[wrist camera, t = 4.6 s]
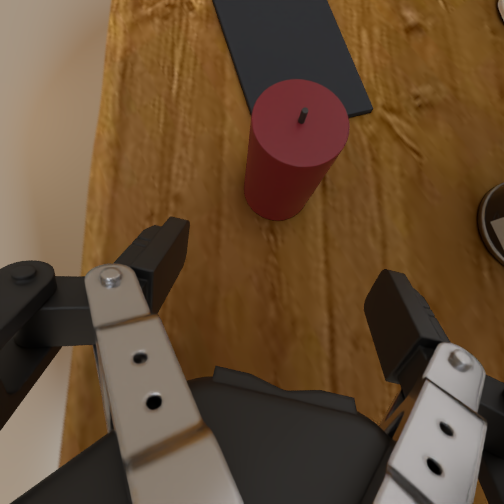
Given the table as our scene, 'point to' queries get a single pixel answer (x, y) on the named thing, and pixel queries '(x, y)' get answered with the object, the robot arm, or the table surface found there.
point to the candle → (292, 146)
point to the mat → (290, 48)
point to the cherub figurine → (501, 7)
